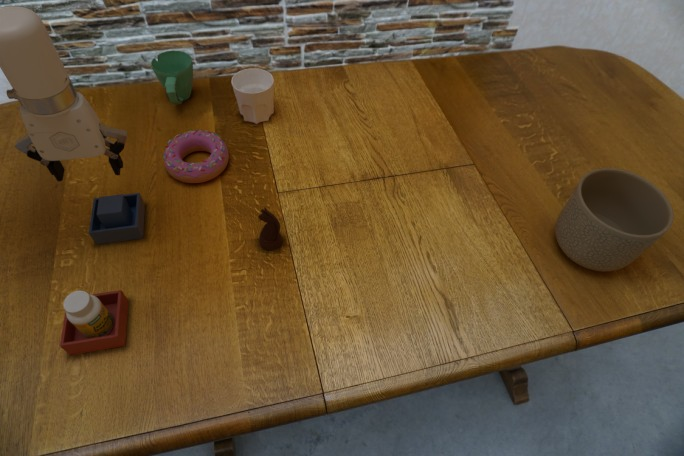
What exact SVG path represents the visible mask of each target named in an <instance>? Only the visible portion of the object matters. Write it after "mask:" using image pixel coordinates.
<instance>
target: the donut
mask: <svg viewBox="0 0 684 456" xmlns="http://www.w3.org/2000/svg"><path fill="white" fill-rule="evenodd" d="M196 152H206V153H209V154H210V155H209V156H208V157H207V158H206V159H204V160H202V161H200V162H199V161H197V162H186V161H184V158H185V157H187V156H188V155H190V154H191V153H196ZM162 156H163V163H164V168H165V169H166V171H167V172H168V174H169V175H170V176H171V177H172V178H174V179H175V180H177V181H179V182H182V183H187V184H200V183H205V182H208V181H211V180H213V179H215V178H217V177H218V176H219V175H221V174H222V173H223V172H224V171H225V170H226V168H227V166H228V163H229V160H230V155H229V149H228V146H227V144H226V143H225V141H224V139H223V138H221V137H220V135H219V134H218V133H216V132H212V131H210V130H207V129H206V130H205V129H200V130H199V129H196V130H195V129H194V130H193V129H192V130H189V131H185V132H183V133H180V134H179V133H178V134H177V135H175V136H174V137H173V138H170V139H168V142H167V144H166V145H165V146H164V152H163V154H162Z"/></svg>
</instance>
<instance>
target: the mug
mask: <svg viewBox="0 0 684 456" xmlns="http://www.w3.org/2000/svg"><path fill="white" fill-rule="evenodd" d="M150 66H151V69H152V71H153V73H154V75H155V77H156V78H157V80H158V81H159V84H160V85H161V86H162V87H163V89H164V90H165V94H166V96H167V99H168V101H169V102H170V103H171V104H172V105H181V104H182V103H183V102H184V101H186V100H189V98H190V97H191V95H192V89H193V84H194V83H193V82H194V63H193V58H192V56H191V55H190V54H189V53H187V52H185V51H183V50H182V51H181V50H174V49H173V50H167V51H163V52H160V53H159V54H157V58H155V57H153V58H152V59H151V62H150Z"/></svg>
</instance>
